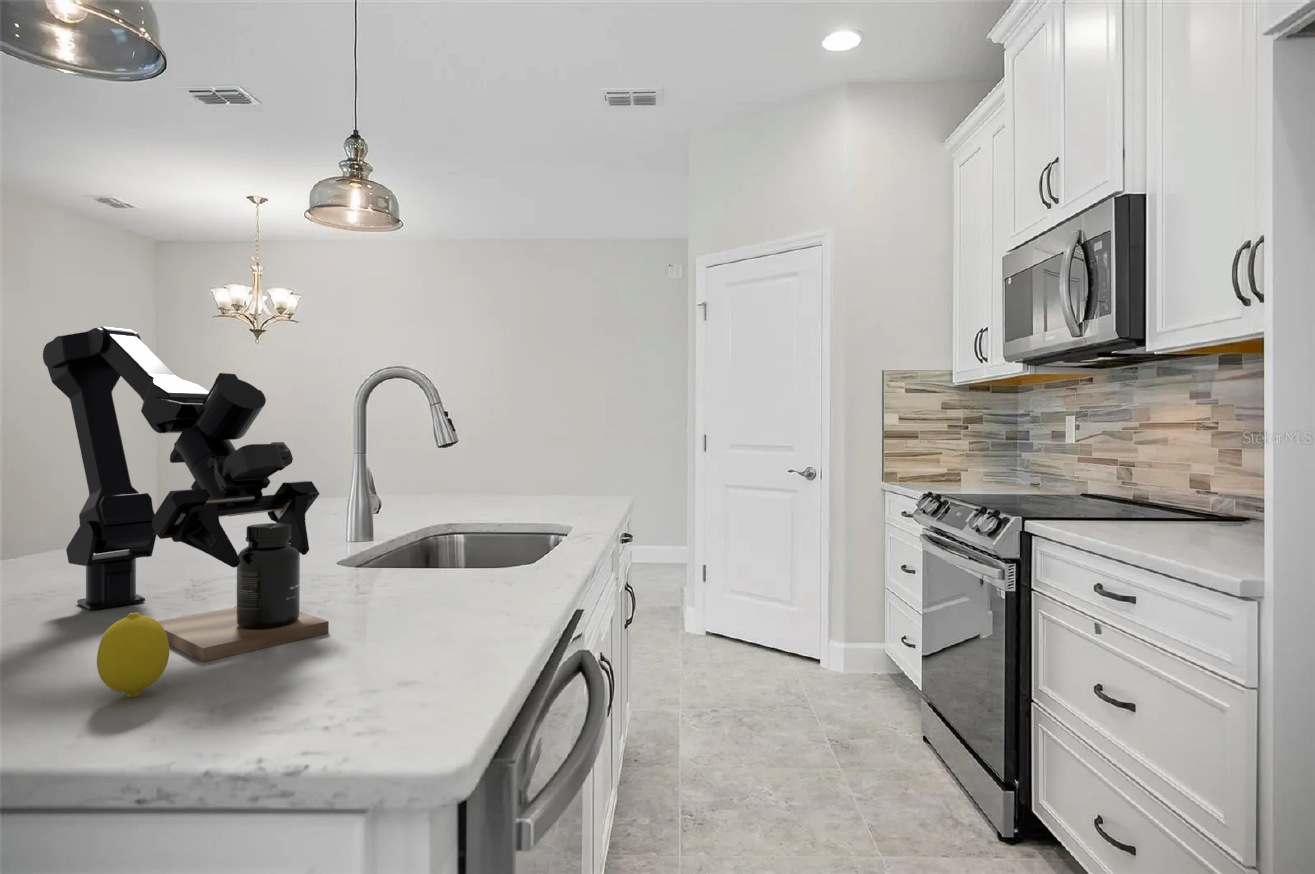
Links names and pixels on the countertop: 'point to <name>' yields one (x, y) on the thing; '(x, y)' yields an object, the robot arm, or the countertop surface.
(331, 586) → the countertop surface
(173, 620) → the walnut board
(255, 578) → the supplement bottle
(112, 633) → the lemon
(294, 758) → the countertop surface
